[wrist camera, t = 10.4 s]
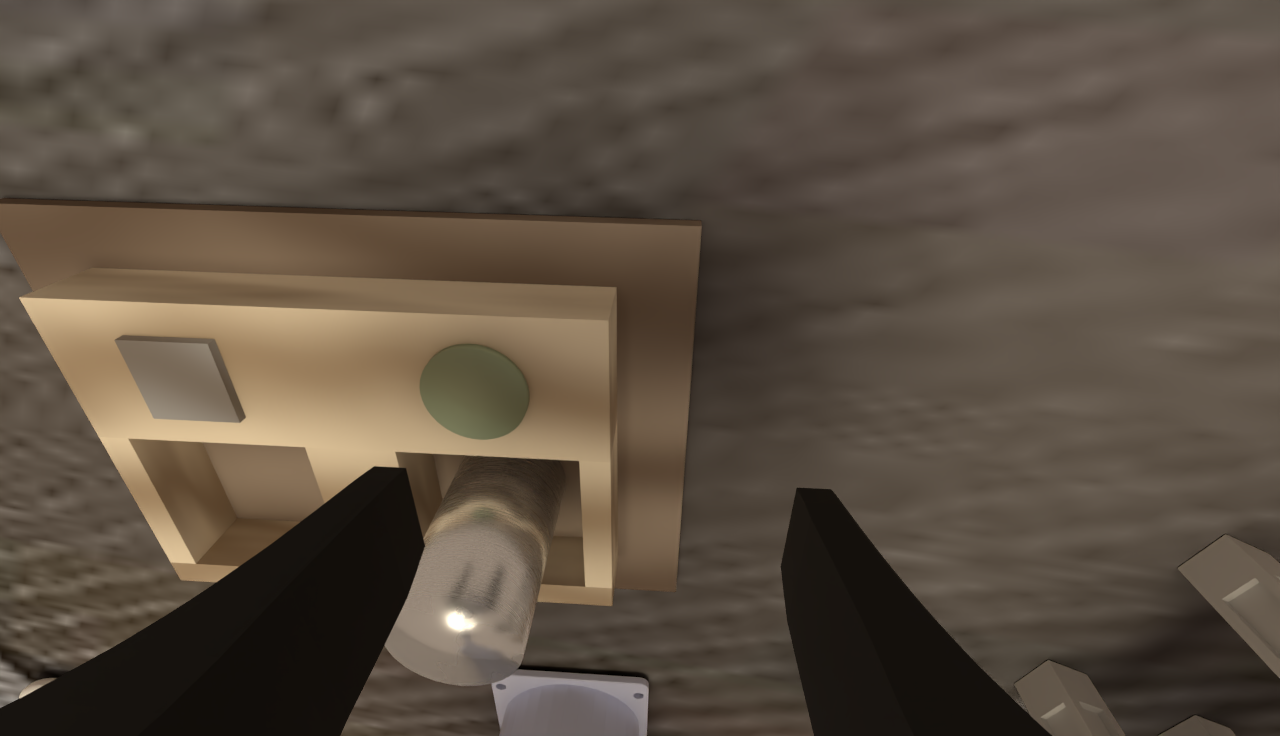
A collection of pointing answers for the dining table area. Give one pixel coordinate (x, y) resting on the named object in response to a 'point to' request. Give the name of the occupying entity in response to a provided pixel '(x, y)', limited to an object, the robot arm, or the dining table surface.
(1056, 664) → the stool
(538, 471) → the peg
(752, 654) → the dining table surface
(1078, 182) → the dining table surface
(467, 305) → the socket block
